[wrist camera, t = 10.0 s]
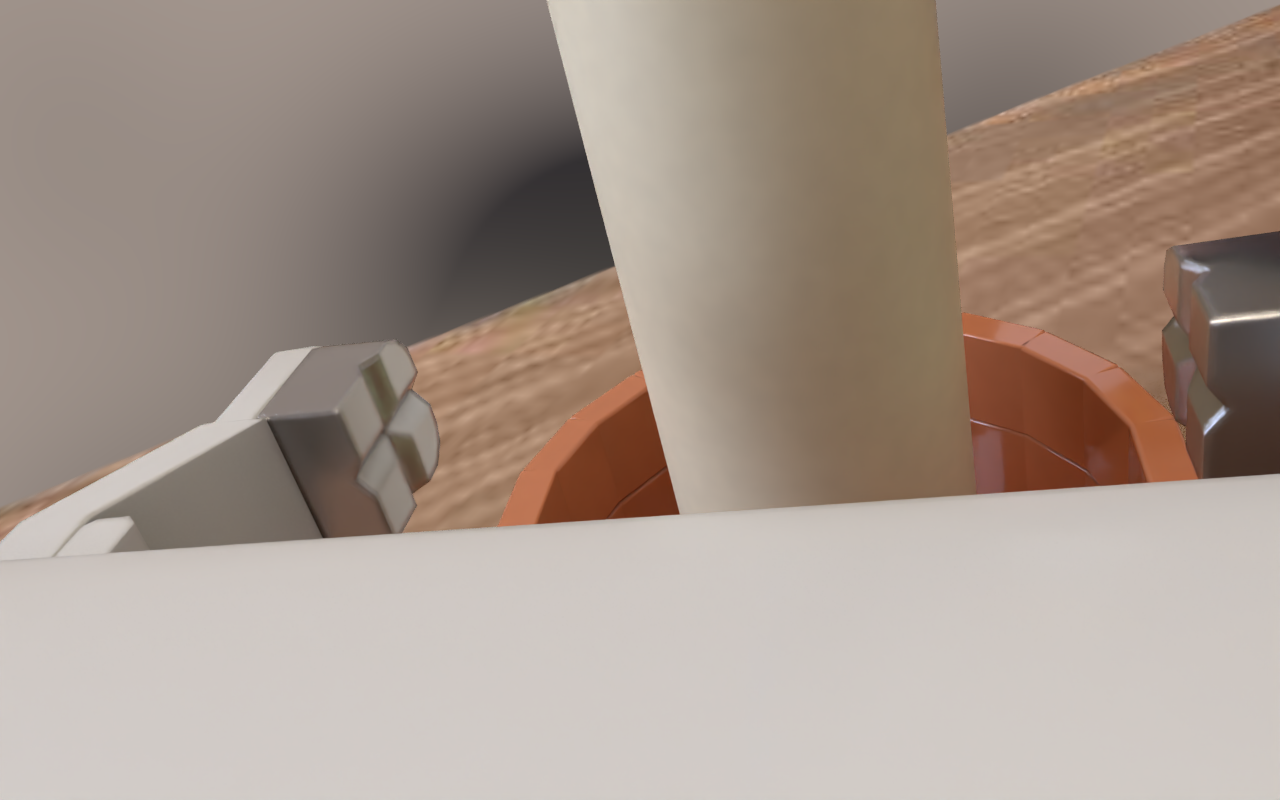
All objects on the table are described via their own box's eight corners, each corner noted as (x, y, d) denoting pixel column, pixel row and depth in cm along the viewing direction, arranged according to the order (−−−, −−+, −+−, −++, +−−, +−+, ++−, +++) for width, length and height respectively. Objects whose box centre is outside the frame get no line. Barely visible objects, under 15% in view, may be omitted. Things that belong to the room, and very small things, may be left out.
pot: (487, 933, 17) (398, 754, 15) (619, 492, 25) (575, 341, 23) (1279, 960, 14) (1307, 743, 12) (1121, 455, 22) (1122, 279, 20)
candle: (705, 756, 18) (400, -313, 10) (734, 566, 22) (526, -323, 14) (1002, 754, 17) (903, -460, 9) (978, 552, 21) (895, -426, 13)
